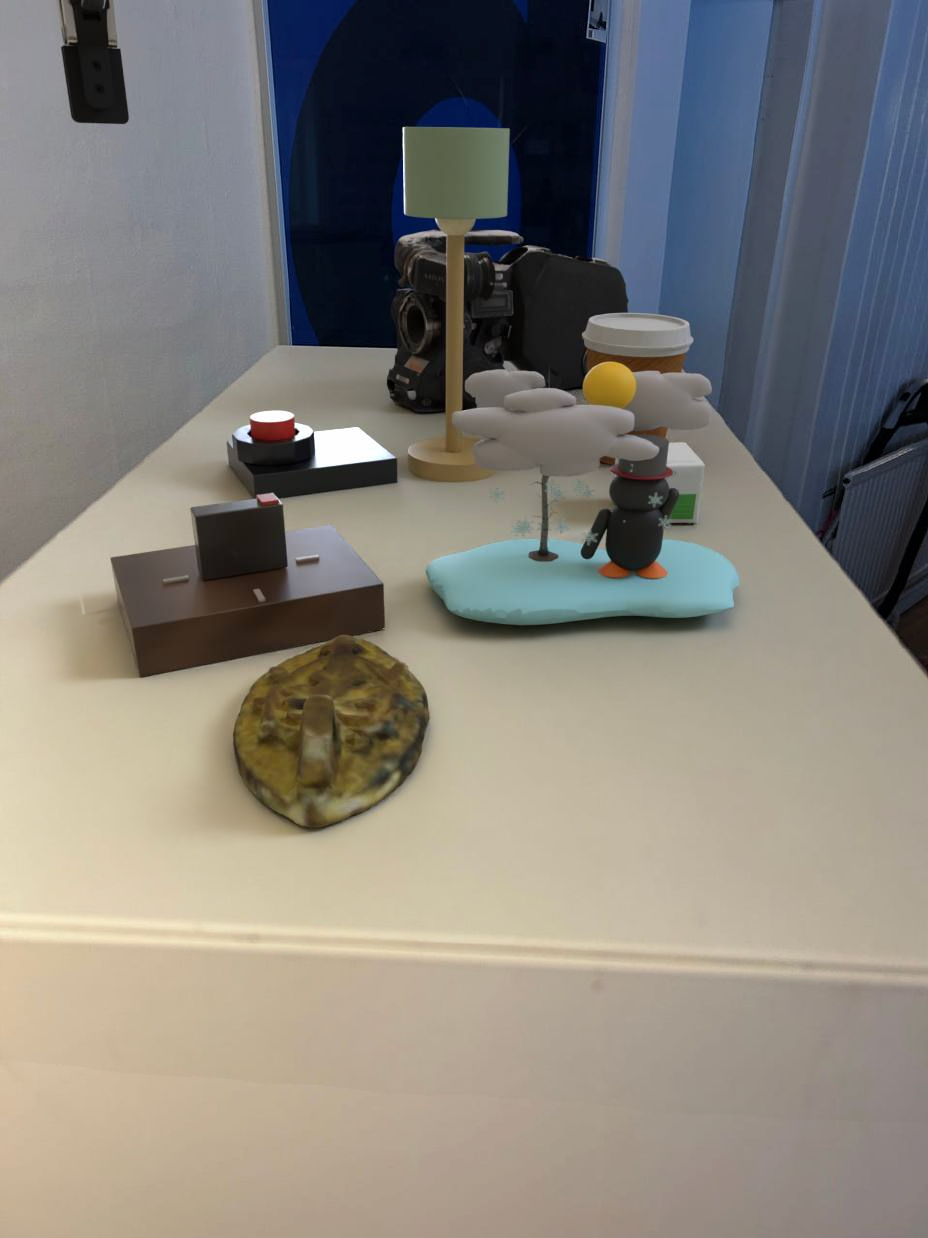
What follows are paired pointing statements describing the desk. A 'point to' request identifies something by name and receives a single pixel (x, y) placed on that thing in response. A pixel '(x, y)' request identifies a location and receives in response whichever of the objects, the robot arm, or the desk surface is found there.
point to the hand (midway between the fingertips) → (100, 122)
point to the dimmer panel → (244, 602)
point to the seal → (330, 731)
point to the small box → (684, 482)
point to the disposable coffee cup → (638, 347)
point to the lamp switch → (272, 425)
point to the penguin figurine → (572, 445)
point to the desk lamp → (453, 257)
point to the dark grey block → (239, 537)
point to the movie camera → (495, 313)
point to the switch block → (310, 462)
